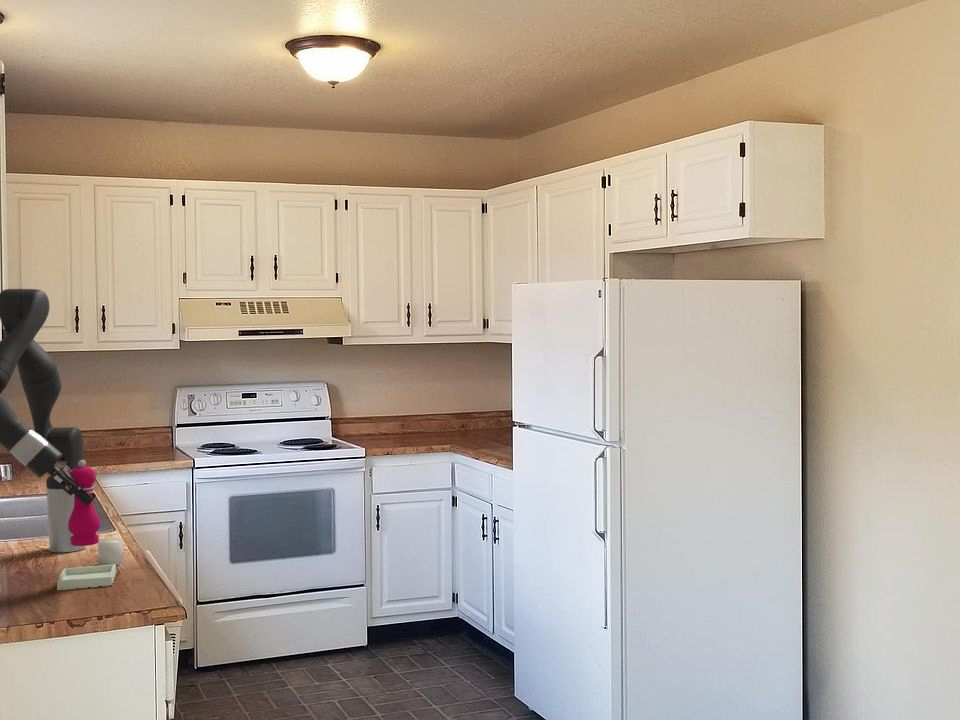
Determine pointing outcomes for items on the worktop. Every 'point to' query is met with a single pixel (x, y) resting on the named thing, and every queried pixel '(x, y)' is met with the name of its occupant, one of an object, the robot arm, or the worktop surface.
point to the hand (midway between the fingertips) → (91, 500)
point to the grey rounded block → (110, 552)
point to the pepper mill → (84, 509)
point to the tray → (86, 577)
